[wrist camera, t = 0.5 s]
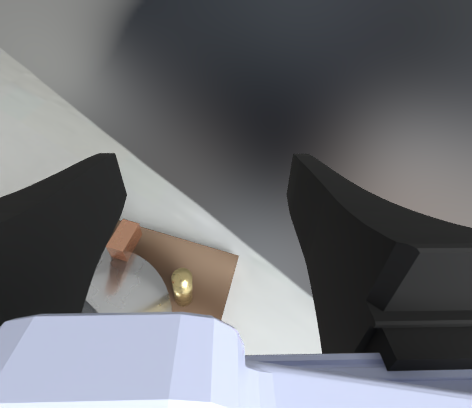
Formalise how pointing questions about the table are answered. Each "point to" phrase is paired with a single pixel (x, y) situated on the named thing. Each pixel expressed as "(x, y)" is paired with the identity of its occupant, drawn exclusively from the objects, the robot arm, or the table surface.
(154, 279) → the flange plate
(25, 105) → the table surface
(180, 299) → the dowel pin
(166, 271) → the base board
